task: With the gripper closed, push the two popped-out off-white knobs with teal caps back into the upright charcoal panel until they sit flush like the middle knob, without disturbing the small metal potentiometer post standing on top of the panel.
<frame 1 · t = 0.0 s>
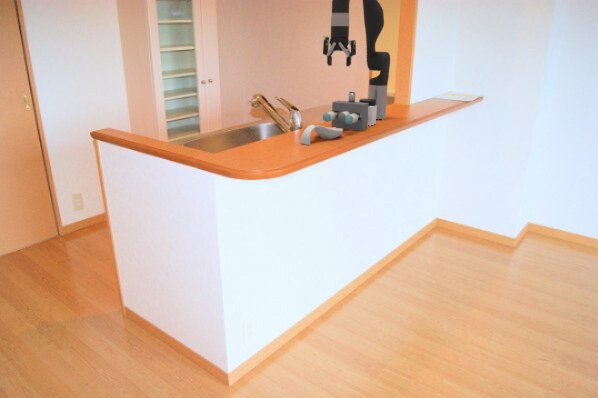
hand: (338, 65, 203), 29 cm above the table, tool pointing down, fingers open, 8 cm apart
jar: (366, 124, 234), on the table
knob right: (354, 117, 215), point 6 cm above the table, slide at 4.0 cm
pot: (351, 102, 222), point 12 cm above the table, touching panel
knob mid: (346, 115, 221), point 6 cm above the table, slide at 0.0 cm
spoon rest: (321, 140, 203), on the table
panel: (349, 128, 225), on the table
knob left: (332, 115, 220), point 6 cm above the table, slide at 4.0 cm
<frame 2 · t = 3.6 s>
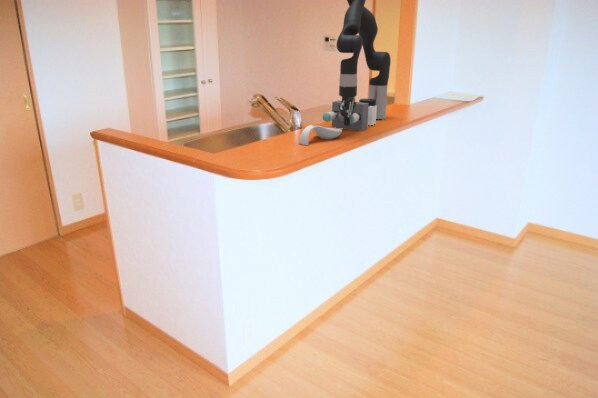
hand: (346, 125, 210), 4 cm above the table, tool pointing down, fingers closed
knob right: (355, 117, 216), point 6 cm above the table, slide at 2.9 cm, touching gripper
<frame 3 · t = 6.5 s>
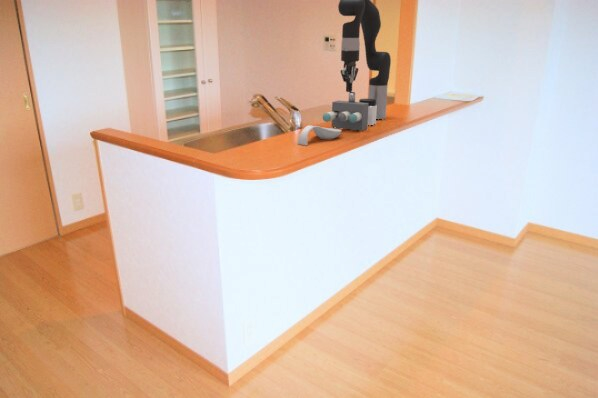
hand: (349, 91, 205), 19 cm above the table, tool pointing down, fingers closed
knob right: (357, 116, 218), point 6 cm above the table, slide at 0.0 cm
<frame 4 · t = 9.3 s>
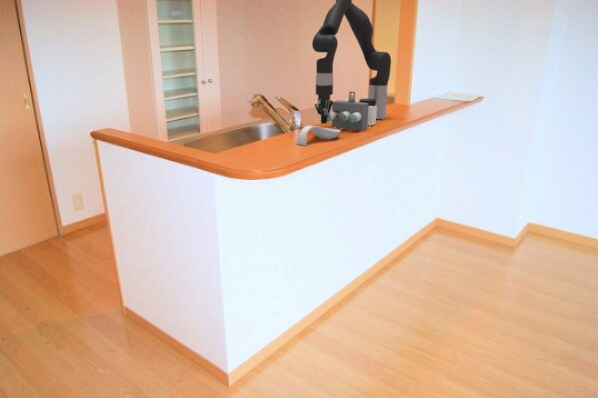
hand: (323, 123, 214), 4 cm above the table, tool pointing down, fingers closed
knob left: (332, 115, 220), point 6 cm above the table, slide at 3.9 cm, touching gripper
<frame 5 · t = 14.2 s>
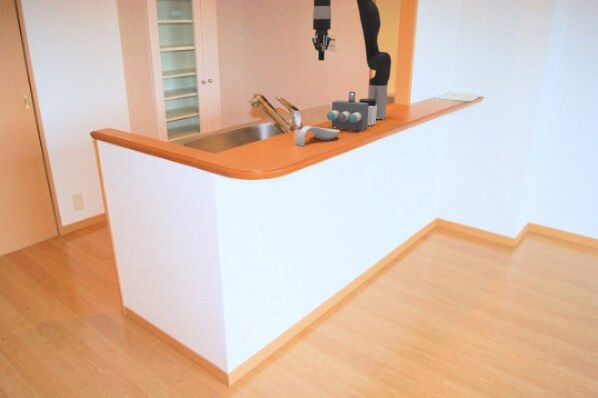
hand: (321, 60, 210), 31 cm above the table, tool pointing down, fingers closed
knob left: (336, 114, 223), point 6 cm above the table, slide at 0.0 cm
at the end: knob right slide at 0.0 cm; knob left slide at 0.0 cm; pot moved 0.0 cm from its start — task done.
